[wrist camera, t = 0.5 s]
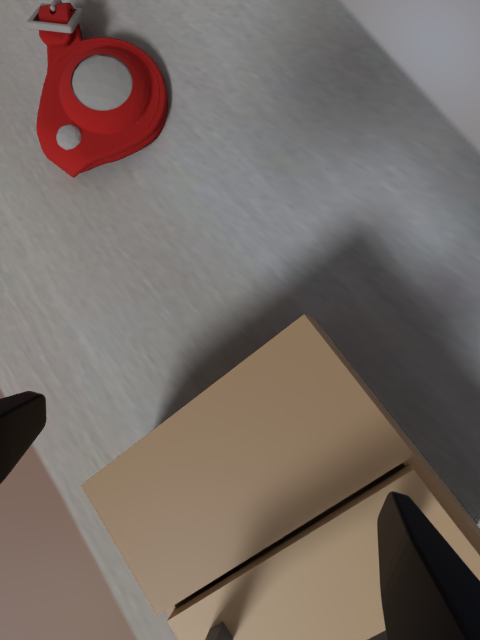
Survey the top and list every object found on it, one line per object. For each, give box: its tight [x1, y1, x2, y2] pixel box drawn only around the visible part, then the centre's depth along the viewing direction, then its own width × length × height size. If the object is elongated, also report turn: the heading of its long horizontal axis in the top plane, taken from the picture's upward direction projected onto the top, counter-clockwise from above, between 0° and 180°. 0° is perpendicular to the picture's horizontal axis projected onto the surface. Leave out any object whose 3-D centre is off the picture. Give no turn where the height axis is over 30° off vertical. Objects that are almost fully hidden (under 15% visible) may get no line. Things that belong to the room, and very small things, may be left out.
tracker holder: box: [27, 0, 168, 178], centre depth 25 cm, size 12×4×10 cm
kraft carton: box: [81, 314, 480, 617], centre depth 19 cm, size 14×14×7 cm
